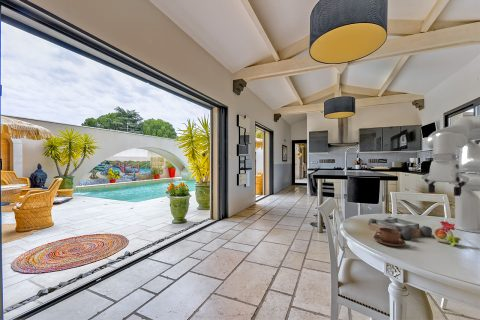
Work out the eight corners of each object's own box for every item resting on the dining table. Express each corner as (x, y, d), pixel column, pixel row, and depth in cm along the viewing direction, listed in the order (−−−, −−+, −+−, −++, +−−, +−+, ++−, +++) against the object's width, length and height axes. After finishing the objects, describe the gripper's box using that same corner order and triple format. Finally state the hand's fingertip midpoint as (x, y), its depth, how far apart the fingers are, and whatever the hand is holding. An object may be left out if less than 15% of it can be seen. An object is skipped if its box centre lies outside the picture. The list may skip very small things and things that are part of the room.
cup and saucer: (391, 250, 88) (391, 235, 88) (367, 239, 99) (367, 227, 99) (412, 247, 91) (412, 233, 91) (386, 237, 102) (386, 225, 102)
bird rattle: (437, 247, 94) (462, 246, 88) (425, 224, 98) (448, 220, 91) (441, 245, 98) (465, 243, 91) (429, 222, 102) (452, 218, 95)
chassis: (394, 224, 123) (394, 215, 123) (434, 236, 104) (434, 225, 104) (366, 227, 117) (366, 218, 117) (402, 240, 98) (402, 229, 98)
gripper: (474, 158, 89) (474, 197, 88) (428, 159, 106) (428, 191, 105) (463, 157, 87) (462, 197, 86) (418, 158, 104) (417, 191, 103)
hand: (443, 194), depth 96 cm, fingers open, 9 cm apart
